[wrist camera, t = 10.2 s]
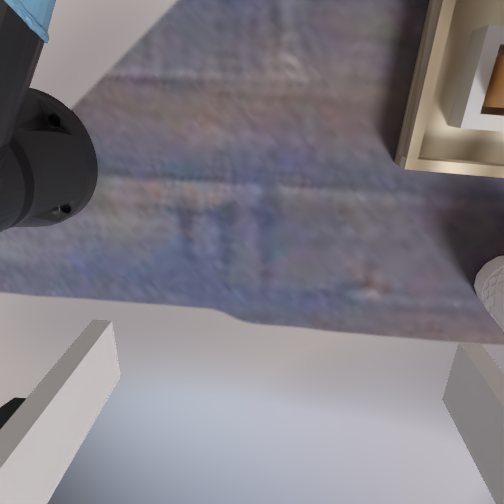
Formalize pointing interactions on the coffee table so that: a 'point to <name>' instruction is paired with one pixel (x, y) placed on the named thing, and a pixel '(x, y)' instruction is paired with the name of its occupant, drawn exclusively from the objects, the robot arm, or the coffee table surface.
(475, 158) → the box
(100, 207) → the coffee table surface
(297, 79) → the coffee table surface
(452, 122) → the socket
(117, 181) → the coffee table surface
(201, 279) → the coffee table surface
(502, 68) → the connector
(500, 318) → the white cup
